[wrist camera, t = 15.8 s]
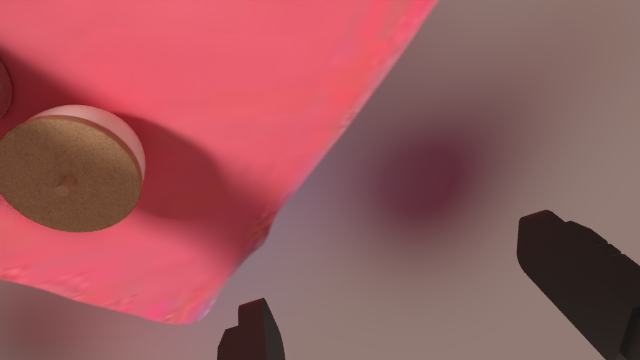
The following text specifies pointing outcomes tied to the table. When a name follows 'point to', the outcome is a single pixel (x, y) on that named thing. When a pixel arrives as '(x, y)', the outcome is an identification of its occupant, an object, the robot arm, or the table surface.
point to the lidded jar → (72, 168)
